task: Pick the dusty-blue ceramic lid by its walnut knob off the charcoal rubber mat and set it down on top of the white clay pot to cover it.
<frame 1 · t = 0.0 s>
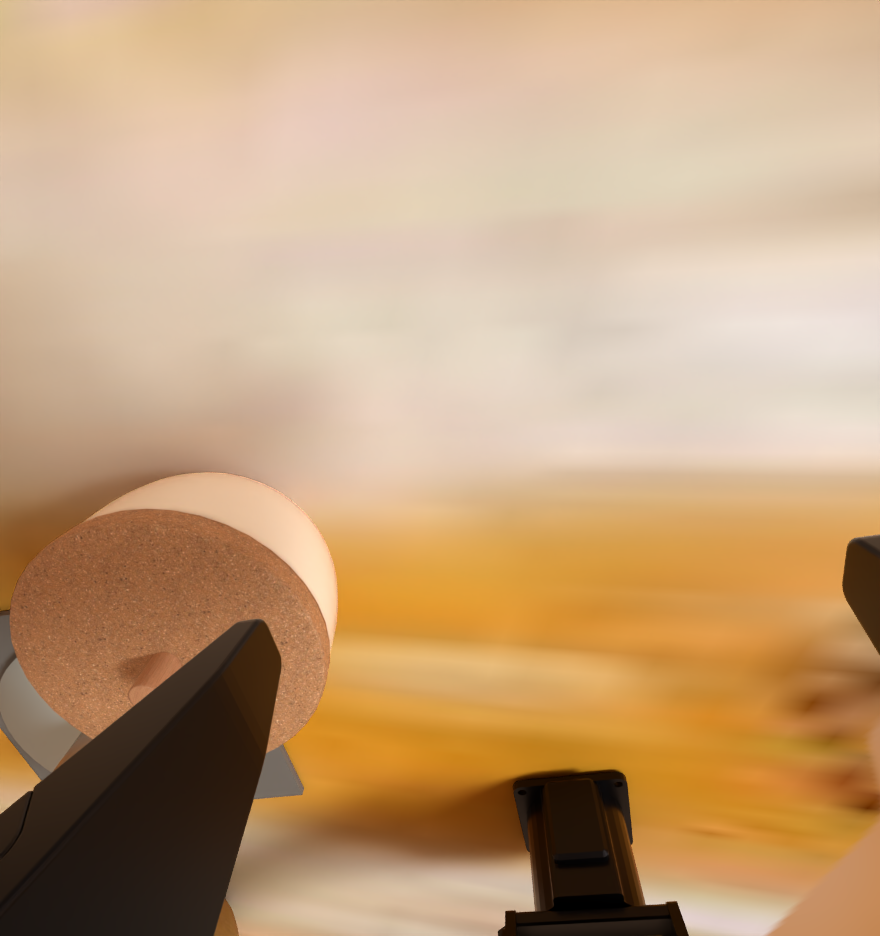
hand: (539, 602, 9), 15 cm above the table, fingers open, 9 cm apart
lidded jar: (246, 539, 26), on the table, touching mat
pot: (178, 888, 40), on the table
mat: (129, 711, 32), on the table
lid: (97, 760, 29), on the mat
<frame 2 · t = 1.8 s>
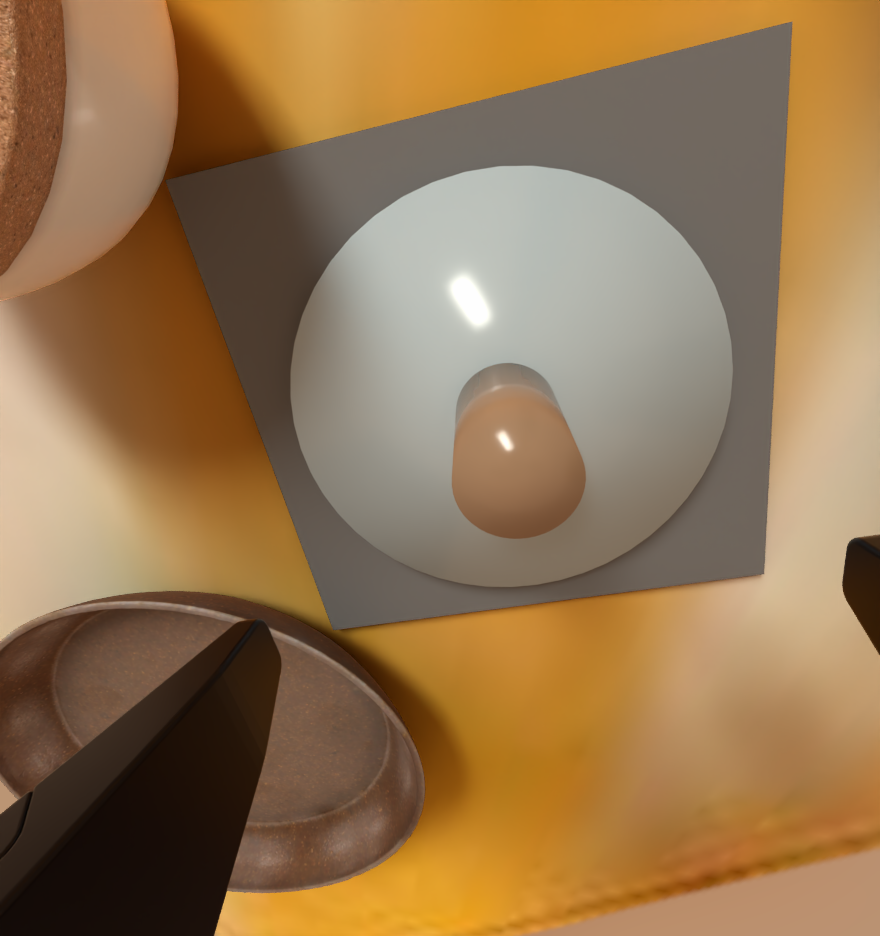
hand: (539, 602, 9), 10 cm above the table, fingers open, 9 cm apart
lidded jar: (55, 71, 14), on the table, touching mat
mat: (503, 399, 18), on the table
lid: (510, 436, 15), on the mat
plant saucer: (232, 709, 25), on the table, touching mat
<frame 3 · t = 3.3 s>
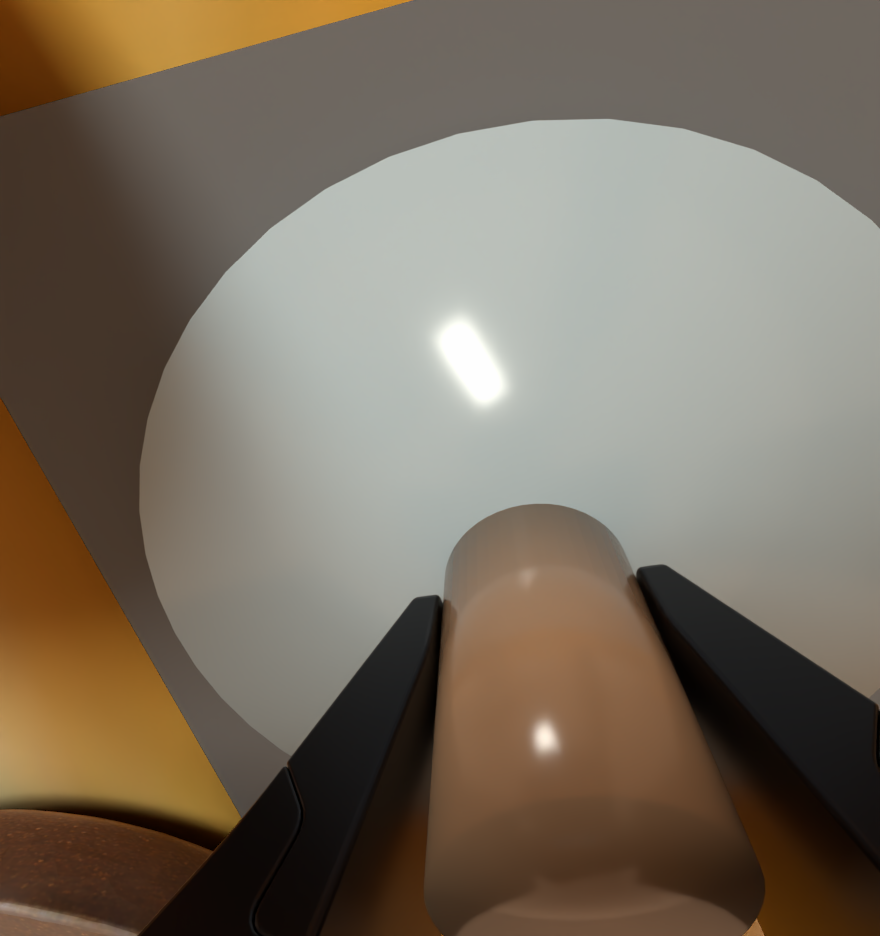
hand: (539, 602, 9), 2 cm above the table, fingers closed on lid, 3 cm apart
mat: (528, 542, 10), on the table
lid: (550, 671, 7), on the mat, touching gripper
plant saucer: (128, 929, 17), on the table, touching mat
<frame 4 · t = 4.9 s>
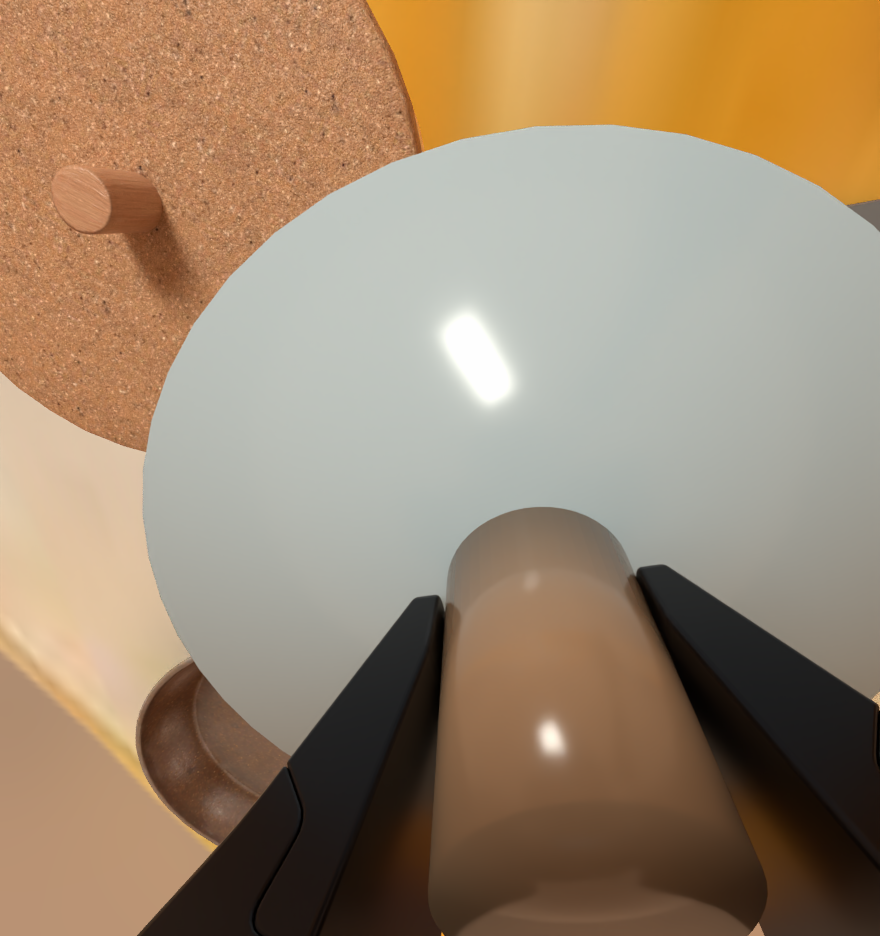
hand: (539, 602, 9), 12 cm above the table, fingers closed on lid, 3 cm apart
lidded jar: (285, 209, 18), on the table, touching mat
mat: (619, 470, 21), on the table
lid: (553, 674, 7), point 14 cm above the table, touching gripper
plant saucer: (345, 721, 28), on the table, touching mat
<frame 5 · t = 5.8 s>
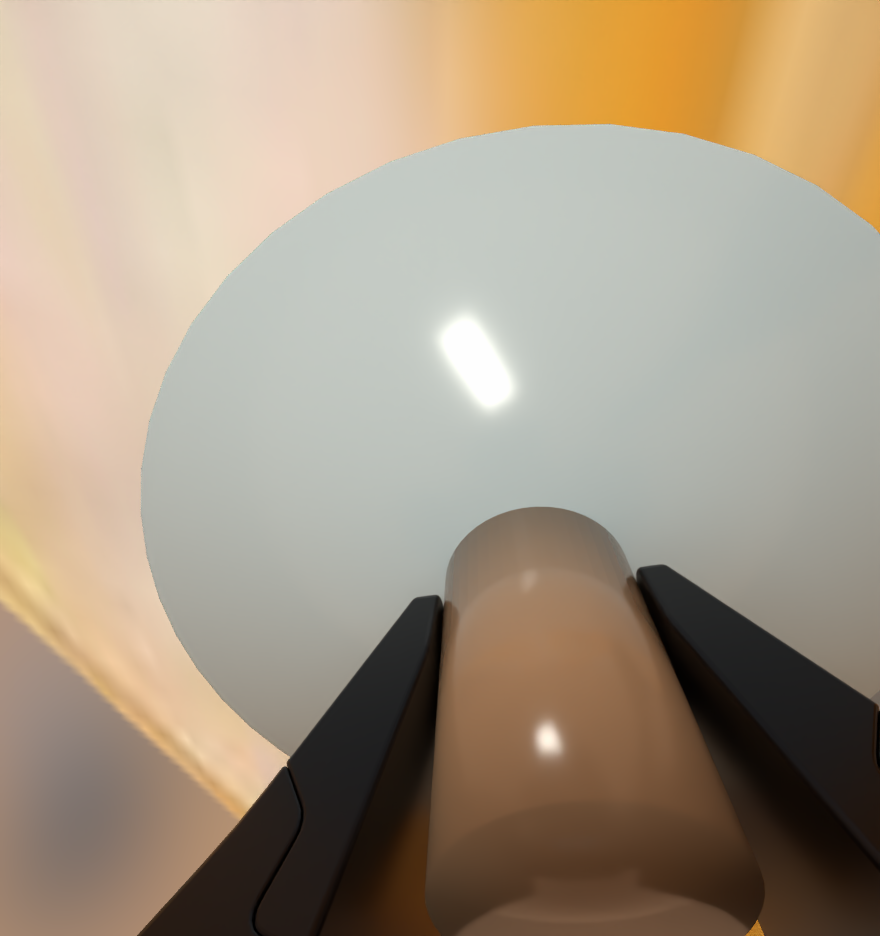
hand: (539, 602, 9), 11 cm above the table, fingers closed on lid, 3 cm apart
lid: (551, 674, 7), point 13 cm above the table, touching gripper
when the fingers open (11 cm above the table, at t = 6.4 s): lid stays where it is, resting on lidded jar.
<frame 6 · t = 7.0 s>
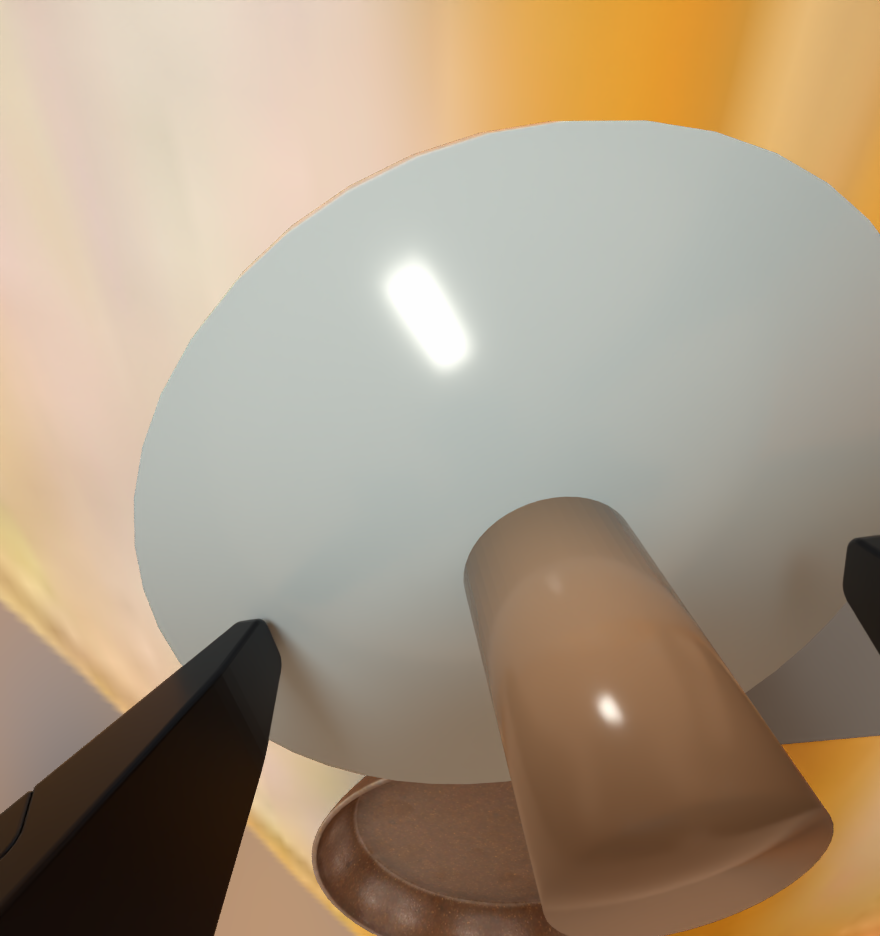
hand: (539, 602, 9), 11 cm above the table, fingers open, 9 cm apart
mat: (794, 599, 22), on the table
lid: (590, 659, 8), point 12 cm above the table, tilted 12°, touching lidded jar
plant saucer: (495, 814, 29), on the table, touching mat
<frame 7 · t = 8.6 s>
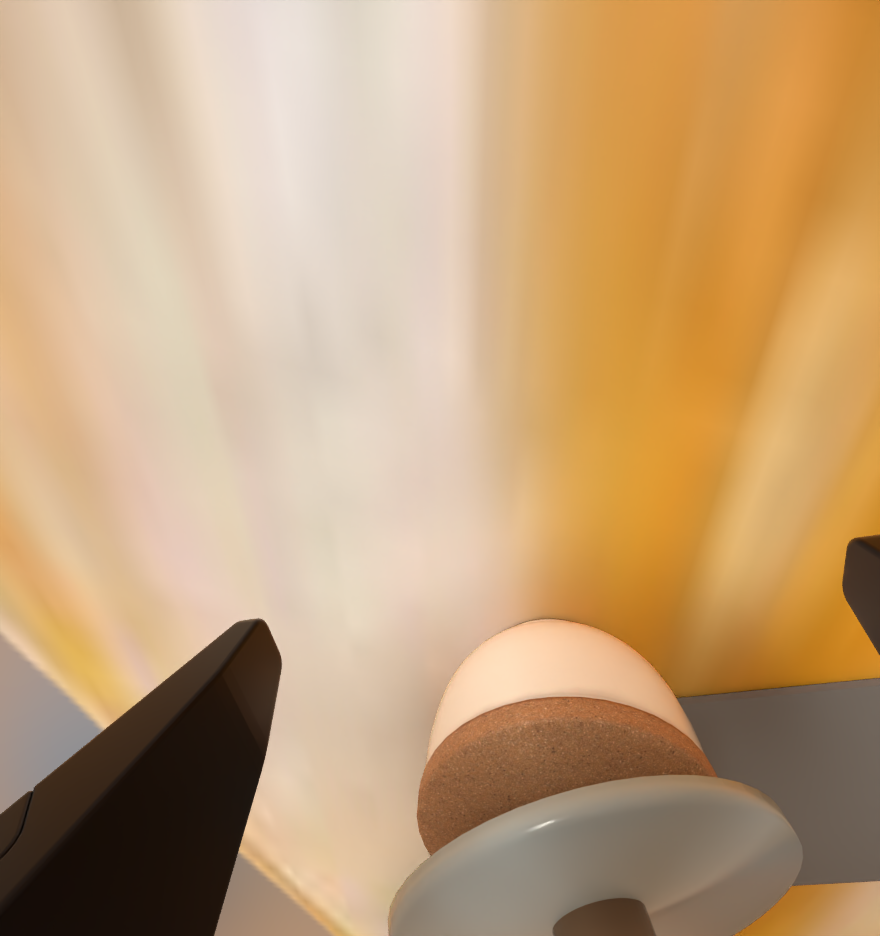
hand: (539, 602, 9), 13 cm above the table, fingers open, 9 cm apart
lidded jar: (548, 666, 27), on the table, touching lid, mat
mat: (757, 795, 30), on the table
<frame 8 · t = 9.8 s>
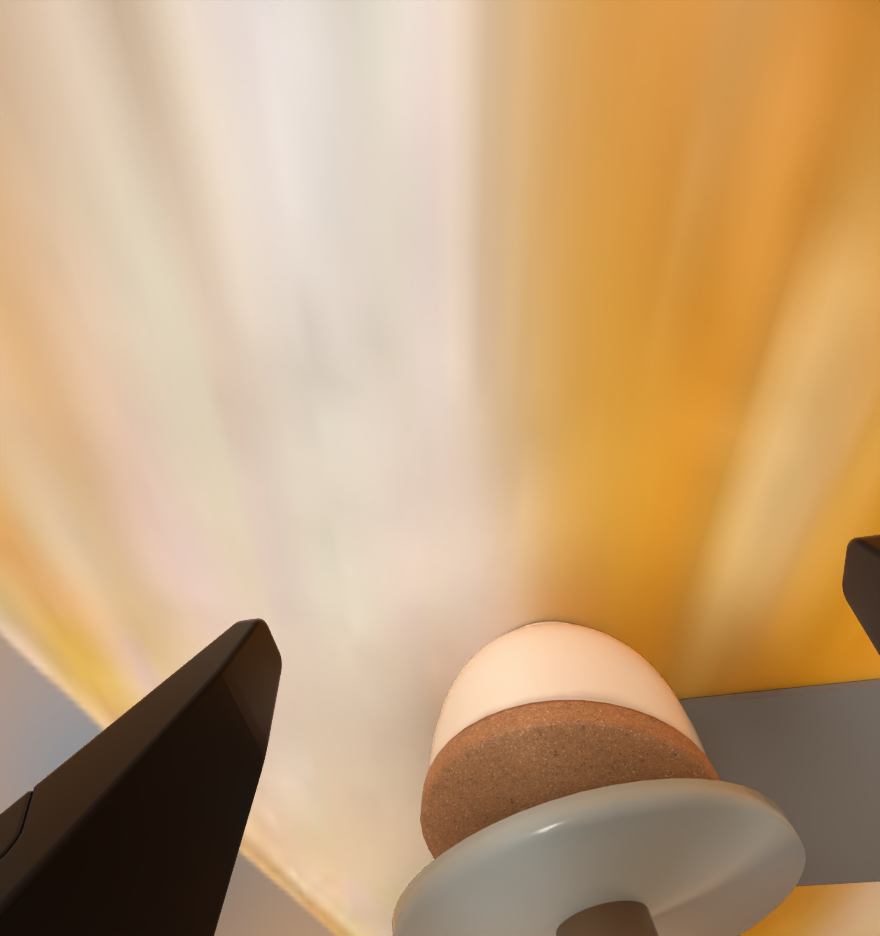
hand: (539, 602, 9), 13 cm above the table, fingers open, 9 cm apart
lidded jar: (550, 669, 27), on the table, touching lid, mat
mat: (760, 796, 30), on the table
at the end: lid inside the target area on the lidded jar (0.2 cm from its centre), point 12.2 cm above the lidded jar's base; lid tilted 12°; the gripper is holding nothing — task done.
